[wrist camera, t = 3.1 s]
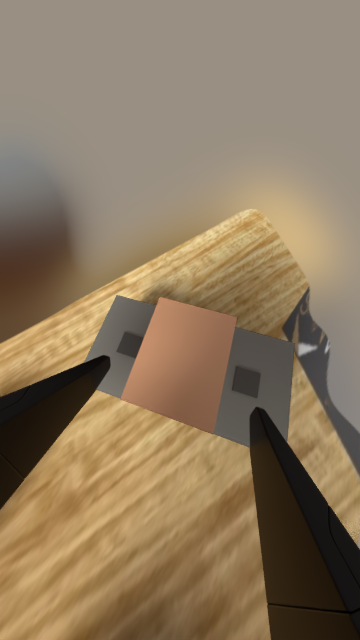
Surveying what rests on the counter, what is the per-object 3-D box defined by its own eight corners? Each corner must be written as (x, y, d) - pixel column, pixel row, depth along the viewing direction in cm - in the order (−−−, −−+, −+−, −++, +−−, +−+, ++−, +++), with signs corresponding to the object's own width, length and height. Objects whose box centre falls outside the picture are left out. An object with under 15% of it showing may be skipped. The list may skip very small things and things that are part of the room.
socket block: (255, 433, 16) (287, 462, 11) (104, 378, 18) (73, 381, 13) (266, 350, 18) (296, 342, 13) (133, 312, 21) (115, 294, 16)
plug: (196, 392, 16) (213, 434, 6) (162, 380, 17) (120, 399, 6) (207, 347, 18) (237, 317, 7) (175, 338, 18) (159, 296, 8)
